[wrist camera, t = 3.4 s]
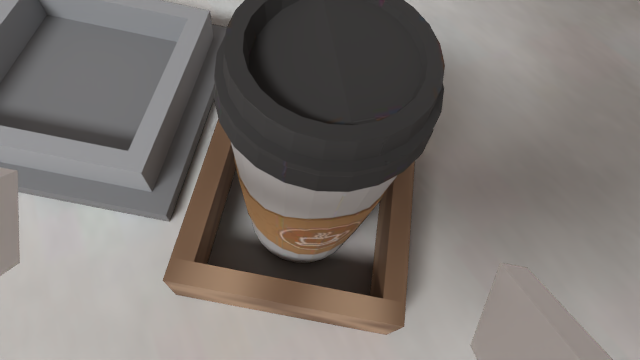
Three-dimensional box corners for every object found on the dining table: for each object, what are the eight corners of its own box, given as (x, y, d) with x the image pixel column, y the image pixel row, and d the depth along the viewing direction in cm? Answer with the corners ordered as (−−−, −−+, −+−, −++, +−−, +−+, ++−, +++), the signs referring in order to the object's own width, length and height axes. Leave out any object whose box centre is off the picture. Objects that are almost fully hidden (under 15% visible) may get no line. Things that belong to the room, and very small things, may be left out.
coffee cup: (241, 290, 24) (211, 170, 11) (232, 166, 28) (201, -37, 14) (376, 272, 26) (495, 147, 12) (351, 156, 29) (422, -37, 16)
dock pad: (235, 38, 33) (232, 2, 30) (169, 221, 26) (156, 198, 22) (36, -4, 32) (12, -45, 29) (-91, 170, 25) (-141, 139, 22)
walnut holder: (400, 155, 30) (416, 128, 27) (386, 334, 24) (404, 326, 21) (232, 121, 29) (228, 89, 26) (176, 294, 24) (162, 280, 21)
